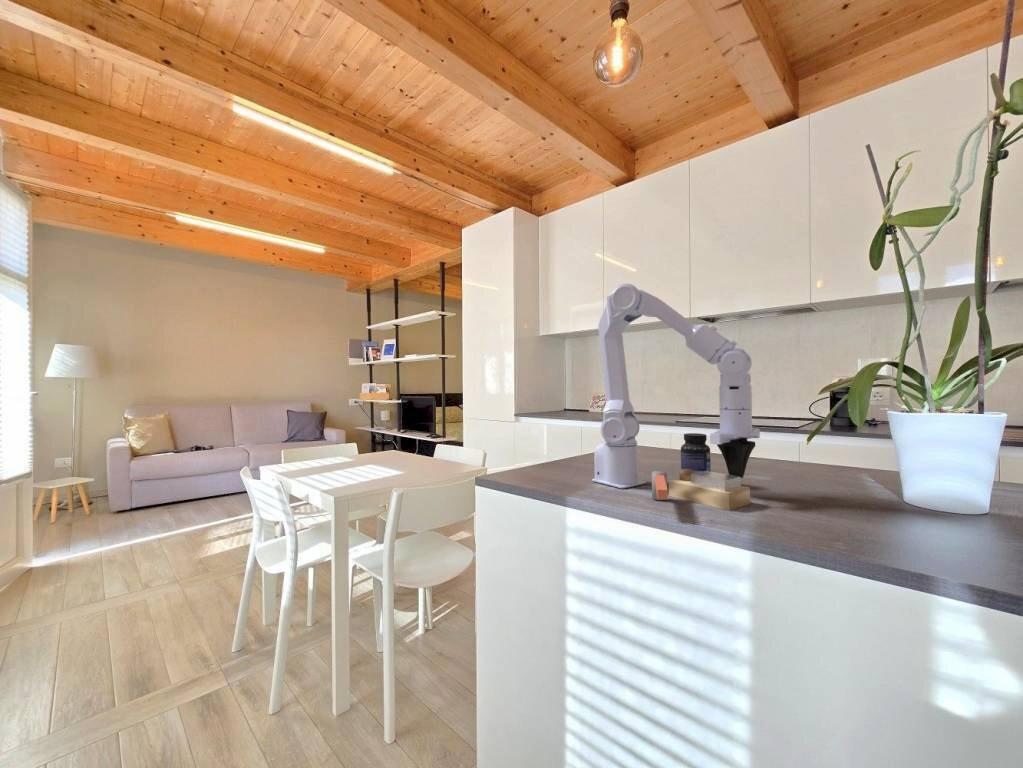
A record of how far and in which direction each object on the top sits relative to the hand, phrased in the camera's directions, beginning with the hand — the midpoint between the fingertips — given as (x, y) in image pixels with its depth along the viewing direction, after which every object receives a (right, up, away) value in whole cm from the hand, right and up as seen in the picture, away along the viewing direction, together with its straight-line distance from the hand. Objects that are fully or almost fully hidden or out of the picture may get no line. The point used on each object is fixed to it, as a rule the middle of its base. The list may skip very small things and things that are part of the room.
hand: (736, 477), depth 87 cm
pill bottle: (-4, -4, +11) cm, 12 cm away
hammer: (-17, -4, -7) cm, 19 cm away
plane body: (-7, -4, -2) cm, 8 cm away
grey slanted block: (-6, -1, -4) cm, 7 cm away
